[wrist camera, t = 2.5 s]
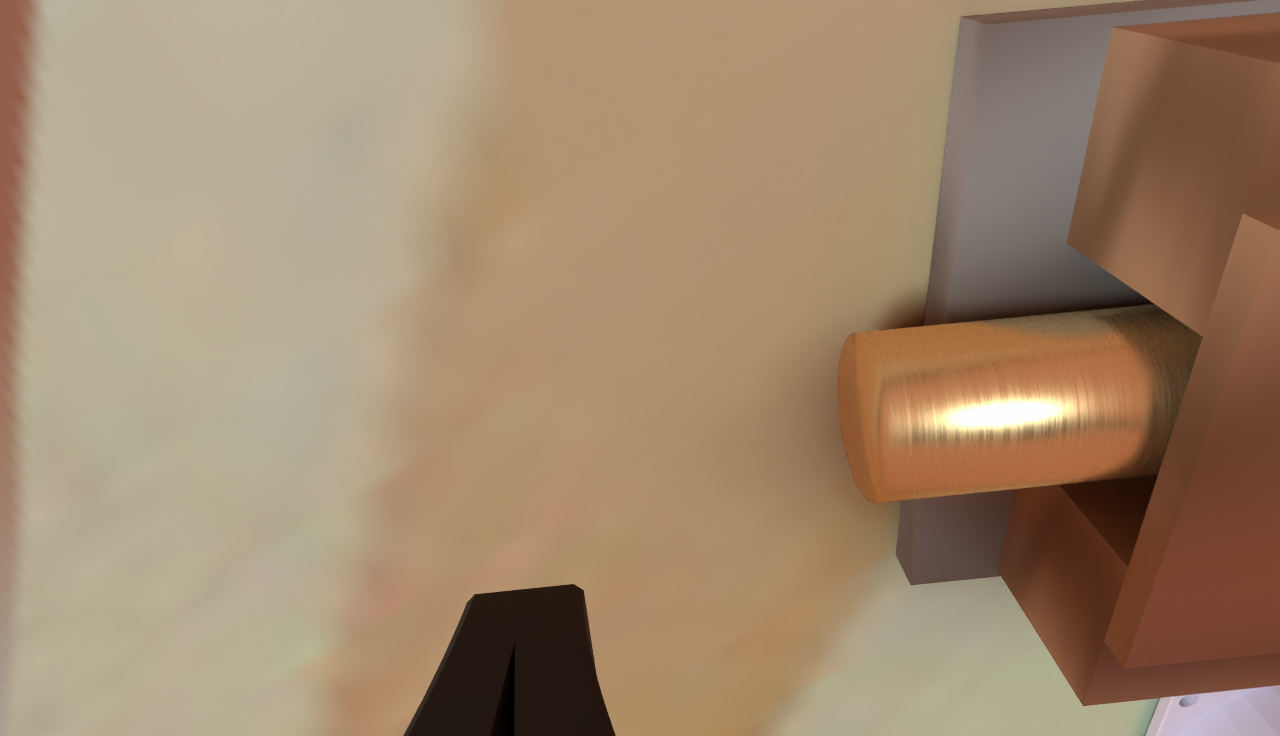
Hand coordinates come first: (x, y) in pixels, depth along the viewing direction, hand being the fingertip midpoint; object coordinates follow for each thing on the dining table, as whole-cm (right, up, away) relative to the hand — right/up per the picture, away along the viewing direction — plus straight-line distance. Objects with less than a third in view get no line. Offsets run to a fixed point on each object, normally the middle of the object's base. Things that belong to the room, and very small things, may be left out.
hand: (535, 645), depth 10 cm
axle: (+12, +4, +5) cm, 14 cm away
